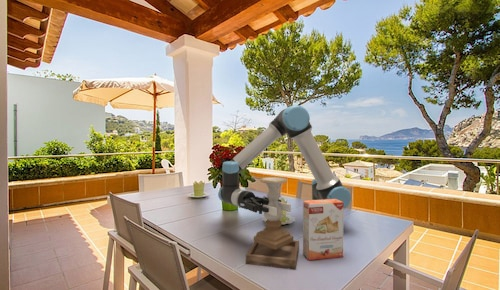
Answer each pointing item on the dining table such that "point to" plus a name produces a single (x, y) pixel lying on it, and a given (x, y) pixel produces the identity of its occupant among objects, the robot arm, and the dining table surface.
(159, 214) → the dining table surface
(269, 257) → the tray
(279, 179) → the candle holder
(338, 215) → the cracker box
